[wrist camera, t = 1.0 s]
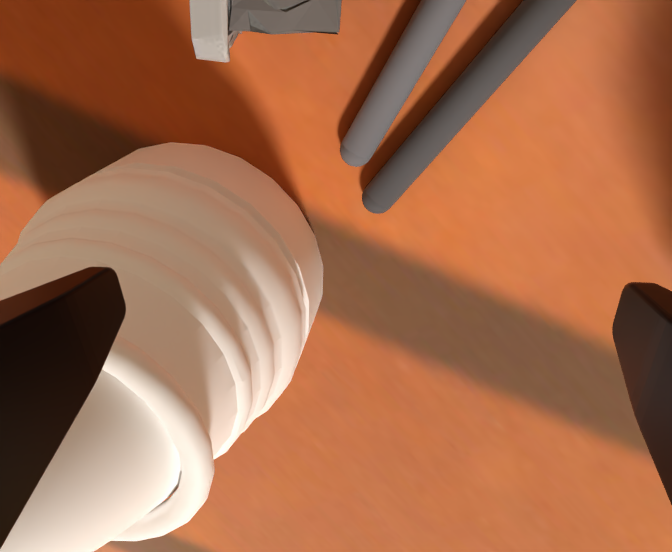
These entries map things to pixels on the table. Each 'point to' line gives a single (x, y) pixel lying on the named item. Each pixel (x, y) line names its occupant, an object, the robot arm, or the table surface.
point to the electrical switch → (256, 21)
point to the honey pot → (167, 334)
